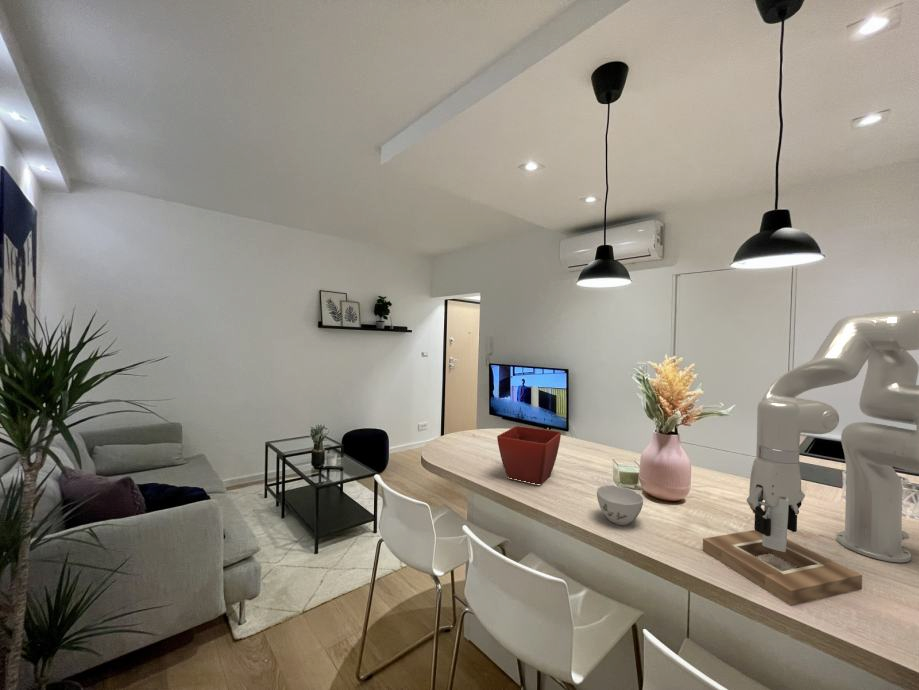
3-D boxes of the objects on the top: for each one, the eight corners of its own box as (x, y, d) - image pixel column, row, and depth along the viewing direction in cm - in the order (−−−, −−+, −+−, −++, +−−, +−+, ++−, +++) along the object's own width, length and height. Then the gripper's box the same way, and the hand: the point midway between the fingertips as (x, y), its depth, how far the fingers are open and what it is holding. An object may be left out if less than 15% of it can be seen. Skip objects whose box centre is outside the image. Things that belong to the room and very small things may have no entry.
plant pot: (545, 491, 130) (545, 443, 129) (495, 481, 140) (495, 436, 139) (561, 474, 146) (561, 431, 146) (516, 466, 156) (516, 425, 156)
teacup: (628, 536, 100) (629, 507, 100) (587, 518, 110) (587, 491, 110) (655, 519, 110) (655, 492, 109) (614, 504, 119) (615, 480, 119)
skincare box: (762, 536, 90) (764, 486, 90) (787, 543, 87) (788, 491, 87) (761, 546, 86) (762, 494, 85) (787, 554, 83) (789, 499, 82)
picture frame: (764, 539, 99) (764, 528, 99) (861, 588, 79) (862, 574, 79) (702, 550, 94) (702, 538, 94) (791, 605, 74) (791, 590, 74)
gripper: (787, 447, 92) (786, 519, 92) (731, 452, 88) (730, 527, 88) (824, 457, 85) (822, 535, 85) (765, 462, 80) (763, 544, 81)
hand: (775, 530), depth 86 cm, fingers closed on skincare box, 7 cm apart
